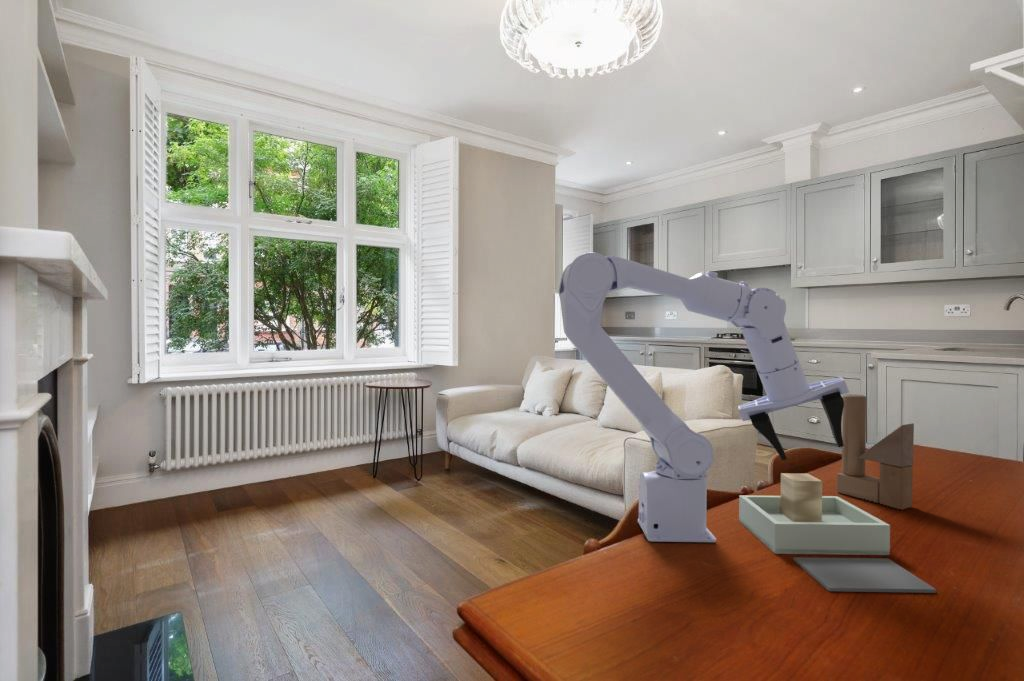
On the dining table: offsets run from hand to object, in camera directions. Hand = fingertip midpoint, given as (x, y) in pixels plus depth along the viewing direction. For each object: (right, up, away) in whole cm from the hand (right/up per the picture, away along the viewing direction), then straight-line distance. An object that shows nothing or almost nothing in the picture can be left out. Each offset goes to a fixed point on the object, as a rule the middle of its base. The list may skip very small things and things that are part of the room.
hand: (811, 451), depth 78 cm
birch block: (-1, -10, +1) cm, 10 cm away
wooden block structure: (+19, -12, +15) cm, 27 cm away
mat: (-2, -12, -14) cm, 18 cm away
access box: (-1, -12, -2) cm, 12 cm away
